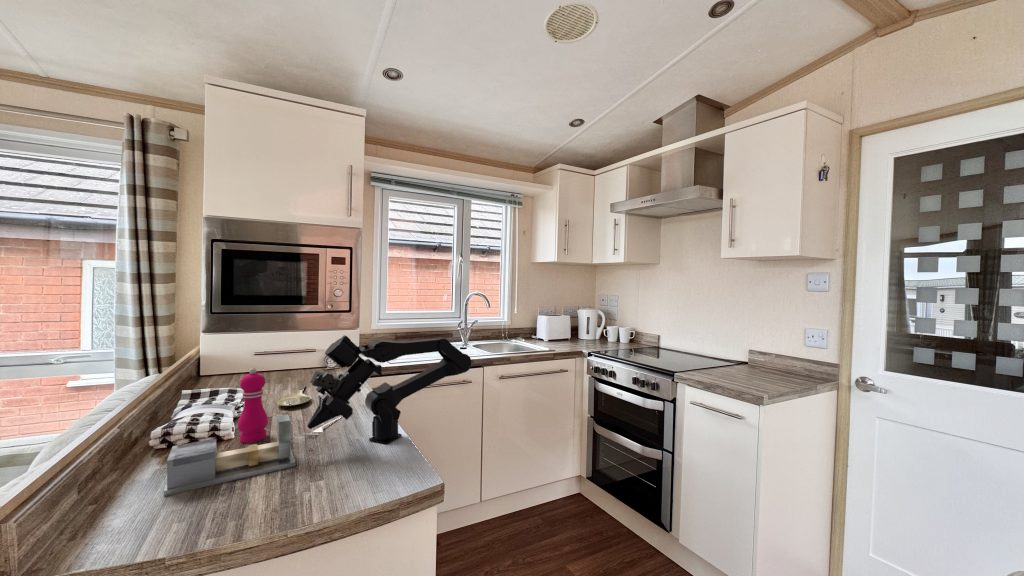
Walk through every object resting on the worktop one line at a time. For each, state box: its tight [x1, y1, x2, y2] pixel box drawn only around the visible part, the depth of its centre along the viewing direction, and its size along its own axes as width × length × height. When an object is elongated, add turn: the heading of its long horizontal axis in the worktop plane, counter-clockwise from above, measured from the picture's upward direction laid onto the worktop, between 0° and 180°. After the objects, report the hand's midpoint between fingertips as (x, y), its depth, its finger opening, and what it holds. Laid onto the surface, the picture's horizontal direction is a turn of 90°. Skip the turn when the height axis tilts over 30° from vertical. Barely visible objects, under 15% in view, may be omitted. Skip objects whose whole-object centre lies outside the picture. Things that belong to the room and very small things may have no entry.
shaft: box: [215, 414, 291, 471], centre depth 96 cm, size 15×5×9 cm, turn 124°
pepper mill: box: [237, 367, 269, 444], centre depth 113 cm, size 7×7×20 cm
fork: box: [303, 416, 342, 436], centre depth 124 cm, size 3×20×2 cm, turn 174°
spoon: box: [276, 389, 312, 407], centre depth 155 cm, size 35×11×2 cm, turn 21°
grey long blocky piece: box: [163, 438, 297, 497], centre depth 94 cm, size 24×10×7 cm, turn 124°
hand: (308, 427), depth 102 cm, fingers closed
